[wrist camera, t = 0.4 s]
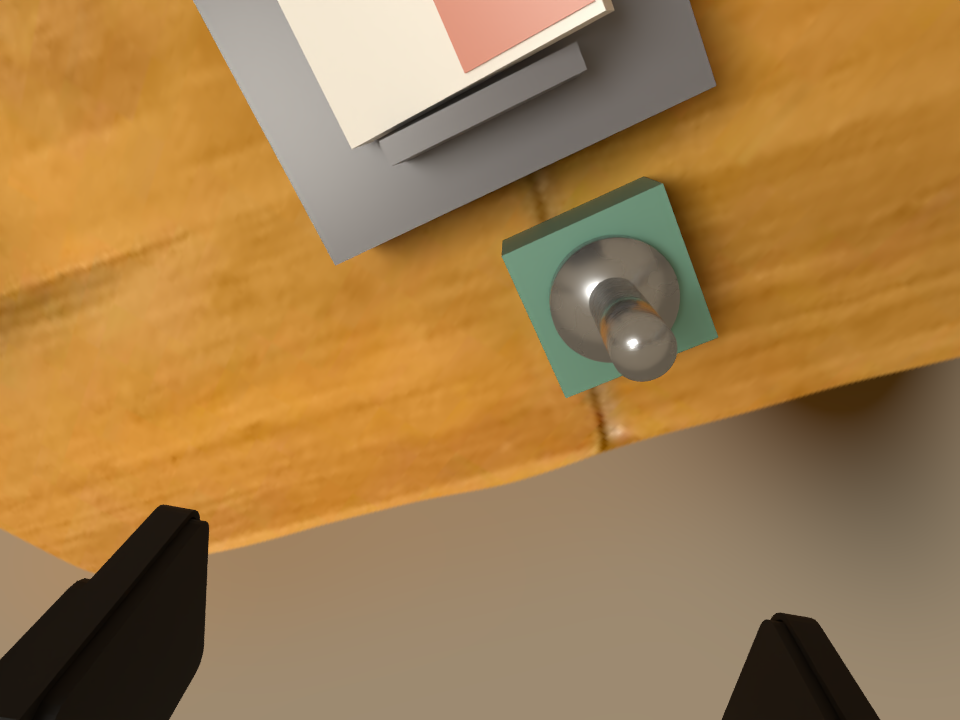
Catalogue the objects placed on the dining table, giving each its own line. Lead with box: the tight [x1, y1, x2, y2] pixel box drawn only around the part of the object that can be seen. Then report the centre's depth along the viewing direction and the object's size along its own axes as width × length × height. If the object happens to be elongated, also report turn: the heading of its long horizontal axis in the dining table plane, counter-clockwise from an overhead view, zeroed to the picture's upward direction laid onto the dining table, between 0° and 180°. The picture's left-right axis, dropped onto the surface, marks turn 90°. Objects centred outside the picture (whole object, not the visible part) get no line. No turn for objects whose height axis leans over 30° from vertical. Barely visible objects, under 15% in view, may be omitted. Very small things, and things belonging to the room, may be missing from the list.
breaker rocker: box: [277, 0, 614, 149], centre depth 23 cm, size 11×6×2 cm, turn 115°
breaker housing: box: [193, 0, 716, 265], centre depth 27 cm, size 18×14×10 cm
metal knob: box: [549, 235, 680, 381], centre depth 29 cm, size 6×6×12 cm
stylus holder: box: [502, 177, 718, 398], centre depth 33 cm, size 8×8×4 cm
